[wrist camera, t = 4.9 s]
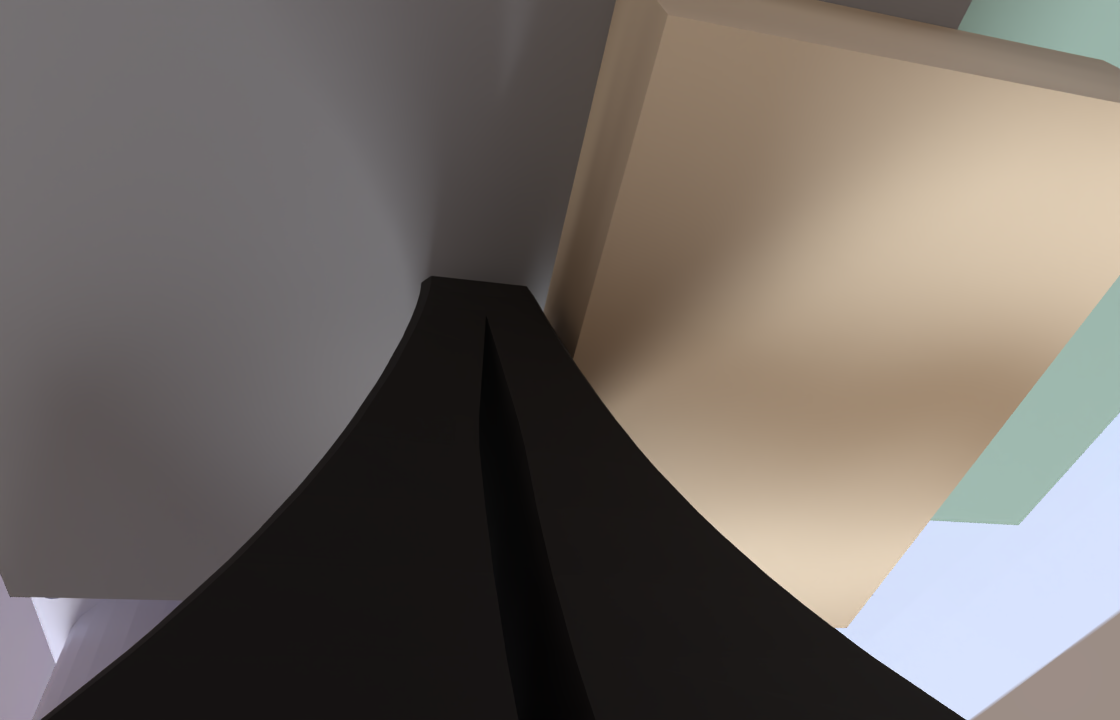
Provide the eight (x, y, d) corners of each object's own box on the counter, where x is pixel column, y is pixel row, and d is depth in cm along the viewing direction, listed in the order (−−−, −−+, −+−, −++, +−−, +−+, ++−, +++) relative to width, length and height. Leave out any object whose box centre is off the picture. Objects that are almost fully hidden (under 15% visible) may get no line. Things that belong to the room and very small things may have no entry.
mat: (1012, 516, 22) (1018, 525, 22) (617, 494, 19) (619, 503, 19) (1571, -117, 12) (1592, -114, 12) (933, -331, 10) (944, -332, 9)
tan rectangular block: (805, 533, 15) (846, 628, 13) (494, 520, 13) (500, 622, 12) (1102, 60, 9) (1235, 125, 8) (625, -41, 8) (668, 15, 6)
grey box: (627, 468, 19) (662, 610, 16) (93, 433, 16) (9, 597, 13) (895, -234, 10) (1083, -220, 7) (-134, -542, 8) (-517, -722, 5)
